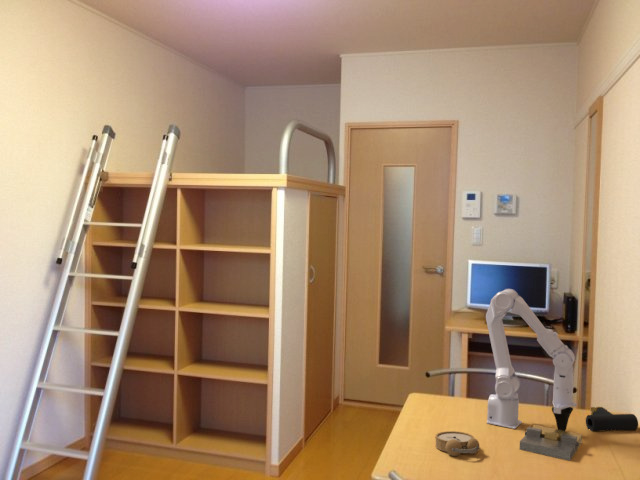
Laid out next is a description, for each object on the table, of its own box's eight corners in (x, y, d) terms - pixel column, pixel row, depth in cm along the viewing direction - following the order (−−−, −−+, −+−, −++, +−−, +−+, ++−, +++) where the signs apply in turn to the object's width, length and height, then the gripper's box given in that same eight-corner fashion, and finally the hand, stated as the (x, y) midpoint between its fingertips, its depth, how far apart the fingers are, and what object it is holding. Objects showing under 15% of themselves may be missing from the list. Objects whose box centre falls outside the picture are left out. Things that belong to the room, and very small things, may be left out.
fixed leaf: (517, 448, 181) (517, 434, 181) (526, 439, 188) (526, 426, 188) (572, 461, 172) (572, 446, 172) (578, 451, 180) (579, 437, 179)
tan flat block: (526, 441, 186) (526, 428, 186) (534, 433, 194) (534, 420, 193) (575, 452, 179) (575, 438, 178) (581, 443, 186) (582, 429, 186)
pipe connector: (575, 405, 207) (617, 404, 208) (574, 421, 207) (616, 420, 209) (594, 417, 195) (638, 416, 197) (593, 434, 196) (637, 432, 197)
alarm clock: (463, 430, 188) (487, 438, 174) (464, 446, 187) (488, 457, 173) (428, 432, 186) (450, 441, 171) (429, 449, 185) (451, 460, 170)
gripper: (571, 395, 185) (569, 439, 186) (581, 384, 197) (580, 426, 198) (547, 391, 189) (545, 434, 190) (558, 381, 201) (557, 422, 202)
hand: (561, 430), depth 194 cm, fingers closed
